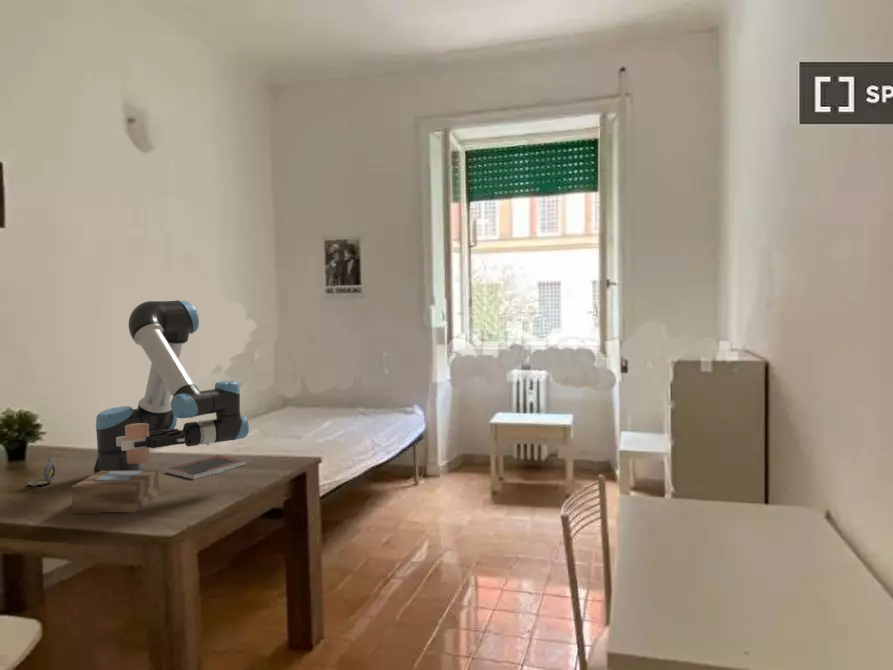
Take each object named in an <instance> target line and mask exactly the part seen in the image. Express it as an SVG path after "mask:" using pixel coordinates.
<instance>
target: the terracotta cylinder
mask: <svg viewBox="0 0 893 670" xmlns="http://www.w3.org/2000/svg"><path fill="white" fill-rule="evenodd" d="M125 436H126V441H128V440H135V439H143V438H145V441H146V437H149V424H147V423H135V424H129V425H126V426H125ZM150 449H151V448H147V447H146V448H139V449H132V450H126V459H127V463H128V464H139V463H140V464H145V463H147V462H150V461H151V452H150V451H151V450H150Z"/></svg>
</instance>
